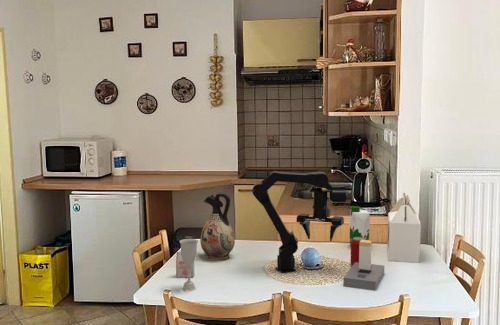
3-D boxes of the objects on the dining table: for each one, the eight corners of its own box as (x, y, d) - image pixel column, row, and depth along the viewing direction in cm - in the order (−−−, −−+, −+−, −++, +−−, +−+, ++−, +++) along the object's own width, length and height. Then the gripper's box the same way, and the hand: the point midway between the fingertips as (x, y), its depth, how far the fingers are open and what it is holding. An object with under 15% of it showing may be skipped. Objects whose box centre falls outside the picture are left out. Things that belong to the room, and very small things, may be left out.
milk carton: (348, 245, 266) (349, 205, 264) (366, 245, 266) (367, 205, 264) (351, 250, 257) (352, 208, 255) (370, 250, 257) (371, 208, 255)
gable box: (419, 263, 237) (422, 199, 234) (388, 261, 240) (390, 198, 237) (415, 250, 259) (417, 191, 256) (387, 248, 262) (389, 190, 259)
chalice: (180, 285, 206) (179, 238, 204) (198, 284, 207) (198, 238, 205) (179, 292, 199) (179, 243, 197) (198, 291, 199) (197, 243, 197)
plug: (358, 268, 212) (359, 241, 211) (360, 265, 216) (361, 239, 215) (369, 269, 211) (369, 242, 209) (370, 266, 214) (371, 240, 213)
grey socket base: (343, 286, 206) (343, 277, 205) (354, 270, 226) (355, 261, 226) (375, 290, 201) (375, 281, 201) (384, 273, 222) (384, 265, 221)
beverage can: (366, 268, 228) (367, 240, 227) (350, 267, 230) (351, 239, 228) (366, 264, 235) (367, 237, 234) (350, 263, 236) (351, 236, 235)
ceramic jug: (194, 260, 239) (193, 192, 236) (209, 251, 254) (209, 187, 250) (229, 264, 233) (229, 195, 230) (243, 255, 247) (243, 190, 244)
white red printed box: (177, 274, 219) (177, 250, 218) (194, 275, 219) (194, 250, 218) (176, 277, 215) (176, 253, 214) (193, 278, 215) (193, 253, 214)
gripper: (347, 200, 226) (346, 237, 228) (304, 198, 233) (303, 233, 235) (341, 205, 216) (340, 244, 217) (296, 202, 223) (295, 239, 225)
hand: (319, 240), depth 224 cm, fingers open, 9 cm apart
